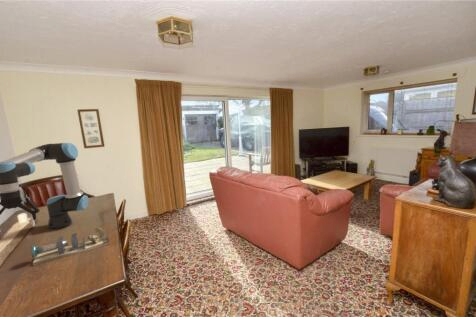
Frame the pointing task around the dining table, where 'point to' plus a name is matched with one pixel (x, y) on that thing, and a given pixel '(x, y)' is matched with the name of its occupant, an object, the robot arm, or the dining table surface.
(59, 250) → the grey angular blocks
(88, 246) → the board
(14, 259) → the dining table surface
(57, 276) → the dining table surface
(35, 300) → the dining table surface
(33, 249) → the shaft
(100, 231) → the bone
